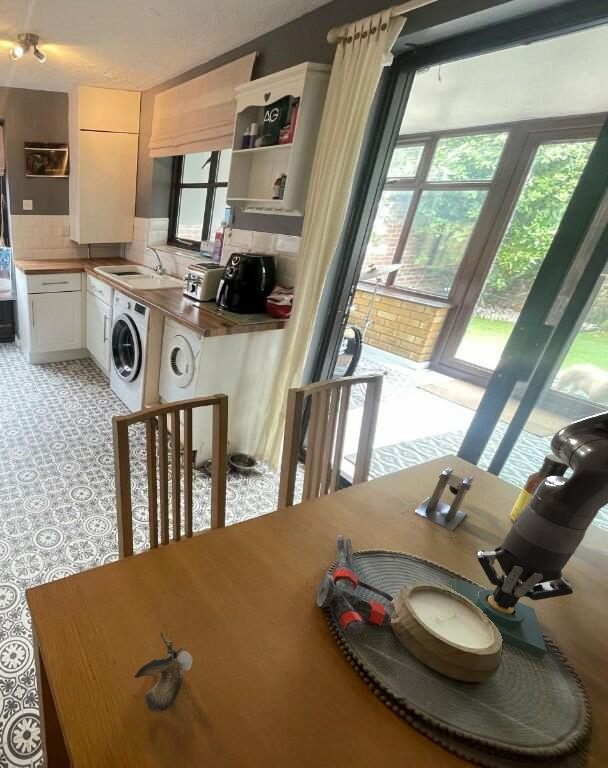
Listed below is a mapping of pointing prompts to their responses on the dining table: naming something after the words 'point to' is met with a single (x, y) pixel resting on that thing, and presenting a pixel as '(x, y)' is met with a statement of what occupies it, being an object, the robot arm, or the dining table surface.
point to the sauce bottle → (538, 482)
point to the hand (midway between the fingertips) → (501, 603)
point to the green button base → (507, 619)
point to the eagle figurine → (165, 677)
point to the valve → (350, 595)
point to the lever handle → (454, 483)
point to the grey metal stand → (441, 511)
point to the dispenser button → (499, 608)
